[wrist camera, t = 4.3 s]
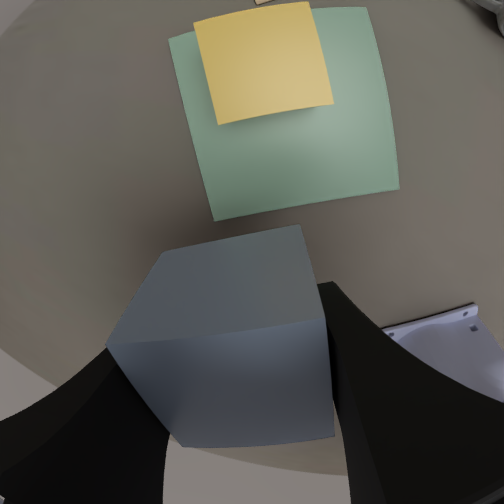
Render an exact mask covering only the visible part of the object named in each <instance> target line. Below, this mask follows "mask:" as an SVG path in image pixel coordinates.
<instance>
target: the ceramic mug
mask: <svg viewBox="0 0 504 504" xmlns="http://www.w3.org/2000/svg"><path fill="white" fill-rule="evenodd" d="M471 1H473V2H475V3H476V4H478V5H480V6H482V7H484V8H485V9H487V10H489V11H492V12H494V13H495V14H496V15H497V22H498V28H499V30H500V32H501V33H502V35H503V36H504V0H471Z"/></svg>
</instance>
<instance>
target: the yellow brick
mask: <svg viewBox="0 0 504 504" xmlns="http://www.w3.org/2000/svg"><path fill="white" fill-rule="evenodd" d="M194 28H195V32H196V36H197V40H198V44H199V48H200V53H201V57H202V61H203V65H204V69H205V73H206V77H207V81H208V86H209V90H210V94H211V98H212V102H213V106H214V110H215V114H216V118H217V123H218V125H222V124H226V123H231V122H236V121H240V120H245V119H249V118H254V117H259V116H264V115H269V114H275V113H280V112H286V111H292V110H298V109H305V108H311V107H318V106H325V105H332V104H334V100H333V95H332V91H331V86H330V81H329V77H328V73H327V68H326V64H325V60H324V56H323V52H322V48H321V44H320V40H319V37H318V33H317V29H316V26H315V22H314V19H313V16H312V12H311V9H310V6H309V2H297V3H288V4H280V5H273V6H266V7H260V8H255V9H249V10H244V11H239V12H234V13H230V14H226V15H221V16H217V17H213V18H210V19H206V20H202V21H199V22H195V23H194Z"/></svg>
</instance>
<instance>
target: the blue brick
mask: <svg viewBox="0 0 504 504" xmlns="http://www.w3.org/2000/svg"><path fill="white" fill-rule="evenodd" d="M105 345H106V347H107V348H108V350H109V351H110V353H111V354H112V356H113V357H114V359H115V360H116V362H117V363H118V365H119V366H120V368H121V369H122V371H123V372H124V374H125V375H126V377H127V378H128V379H129V381H130V382H131V384H132V385H133V386H134V388H135V389H136V391H137V392H138V393H139V395H140V396H141V397H142V399H143V400H144V401H145V403H146V404H147V405H148V406H149V408H150V409H151V410H152V411H153V413H154V414H155V415H156V416H157V418H158V419H159V420H160V421H161V423H162V424H163V425H164V426H165V427H166V429H167V430H168V431H169V432H170V433H171V434H172V436H173V437H174V438H175V439H176V440H177V441H178V442H179V444H180V445H181V446H182V447H193V448H229V447H252V446H266V445H277V444H286V443H295V442H302V441H310V440H316V439H322V438H328V437H334V436H335V433H334V413H333V397H332V384H331V371H330V360H329V349H328V339H327V329H326V320H325V315H324V311H323V307H322V303H321V299H320V295H319V291H318V287H317V284H316V280H315V276H314V273H313V269H312V265H311V262H310V258H309V254H308V251H307V247H306V244H305V240H304V237H303V233H302V230H301V227H300V224H297V225H292V226H286V227H281V228H276V229H271V230H266V231H261V232H256V233H251V234H246V235H241V236H236V237H231V238H226V239H221V240H216V241H211V242H206V243H202V244H197V245H192V246H187V247H182V248H178V249H173V250H168V251H164V252H162V254H161V255H160V257H159V258H158V260H157V261H156V263H155V264H154V266H153V267H152V269H151V270H150V272H149V273H148V275H147V276H146V278H145V280H144V281H143V283H142V284H141V286H140V287H139V289H138V291H137V292H136V294H135V295H134V297H133V299H132V300H131V302H130V303H129V305H128V307H127V308H126V310H125V312H124V313H123V315H122V317H121V318H120V320H119V322H118V323H117V325H116V327H115V328H114V330H113V332H112V333H111V335H110V337H109V339H108V340H107V342H106V344H105Z"/></svg>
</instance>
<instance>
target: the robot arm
mask: <svg viewBox="0 0 504 504" xmlns="http://www.w3.org/2000/svg"><path fill="white" fill-rule="evenodd" d="M317 287H318V291H319V295H320V299H321V303H322V307H323V311H324V315H325V320H326V329H327V339H328V349H329V360H330V371H331V384H332V397H333V401H334V404H335V408H336V411H337V415H338V419H339V423H340V426H341V431H342V436H343V441H344V448H345V455H346V462H347V470H348V478H349V487H350V497H351V504H504V351H503V349H502V348H501V347H500V345H499V344H498V342H497V341H496V340H495V338H494V337H493V336H492V334H491V333H490V331H489V330H488V329H487V327H486V326H485V325H484V324H483V322H482V321H481V320H480V318H479V317H478V316H477V312H478V306H477V305H476V304H471V305H468V306H465V307H462V308H459V309H455V310H452V311H449V312H446V313H442V314H439V315H435V316H432V317H428V318H425V319H421V320H417V321H413V322H410V323H406V324H402V325H398V326H394V327H390V328H385V329H382V330H381V329H380V328H379V327H378V326H377V325H375V324H374V323H373V322H372V321H371V320H370V319H369V318H368V317H367V316H366V315H365V314H364V313H363V312H362V311H361V310H360V309H359V308H358V307H357V306H356V305H355V304H354V303H353V302H352V301H351V300H350V299H349V298H348V297H347V296H346V295H345V294H344V293H343V291H342V290H341V289H340V288H339V287H338V285H337V284H336V283H334V282H333V281H331V282H326V283H321V284H317ZM390 333H391V334H390ZM169 436H170V432H169V431H168V430H167V429H166V427H165V426H164V425H163V424H162V423H161V421H160V420H159V419H158V418H157V416H156V415H155V414H154V413H153V411H152V410H151V409H150V408H149V406H148V405H147V404H146V403H145V401H144V400H143V399H142V397H141V396H140V395H139V393H138V392H137V391H136V389H135V388H134V386H133V385H132V384H131V382H130V381H129V379H128V378H127V377H126V375H125V374H124V372H123V371H122V369H121V368H120V366H119V365H118V363H117V362H116V360H115V359H114V357H113V356H112V354H111V353H110V351H109V350H108V348H105V349H104V350H103V351H102V352H101V353H100V354H99V355H98V356H97V357H95V358H94V359H93V360H92V361H91V362H90V363H89V364H87V365H86V366H85V367H84V368H83V369H82V370H81V371H80V372H78V373H77V374H76V375H75V376H73V377H72V378H71V379H70V380H68V381H67V382H66V383H64V384H63V385H62V386H60V387H59V388H57V389H56V390H55V391H53V392H52V393H50V394H49V395H47V396H46V397H44V398H42V399H41V400H39V401H38V402H36V403H34V404H33V405H32V406H30V407H28V408H26V409H24V410H22V411H20V412H18V413H17V414H15V415H13V416H10V417H9V418H6V419H4V420H2V421H0V495H1V496H2V497H4V498H5V499H4V500H3V499H1V498H0V504H163V481H164V469H165V458H166V451H167V445H168V440H169Z"/></svg>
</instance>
